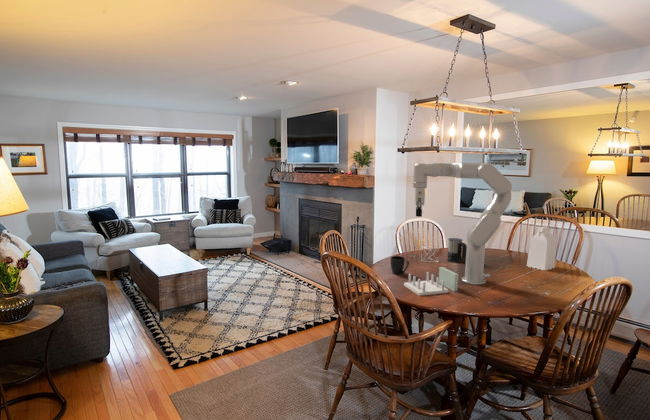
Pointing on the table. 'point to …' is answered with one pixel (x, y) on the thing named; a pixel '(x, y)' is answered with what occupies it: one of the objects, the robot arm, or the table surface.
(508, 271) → the table surface
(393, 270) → the mug
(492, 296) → the table surface
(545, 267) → the milk
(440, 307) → the table surface
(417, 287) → the dish rack
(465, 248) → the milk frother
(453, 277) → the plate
